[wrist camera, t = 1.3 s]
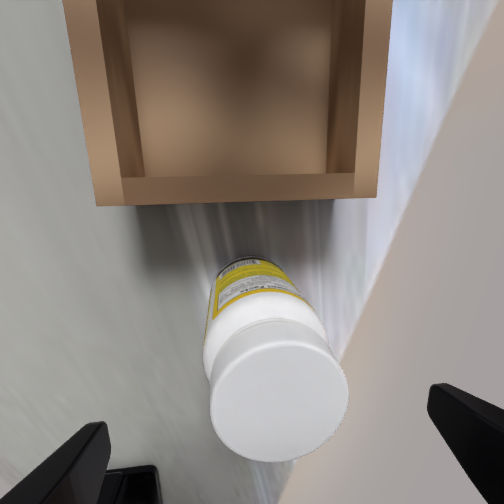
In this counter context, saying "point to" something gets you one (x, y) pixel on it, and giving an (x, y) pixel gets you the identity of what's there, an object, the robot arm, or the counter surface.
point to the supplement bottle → (269, 365)
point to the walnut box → (230, 98)
